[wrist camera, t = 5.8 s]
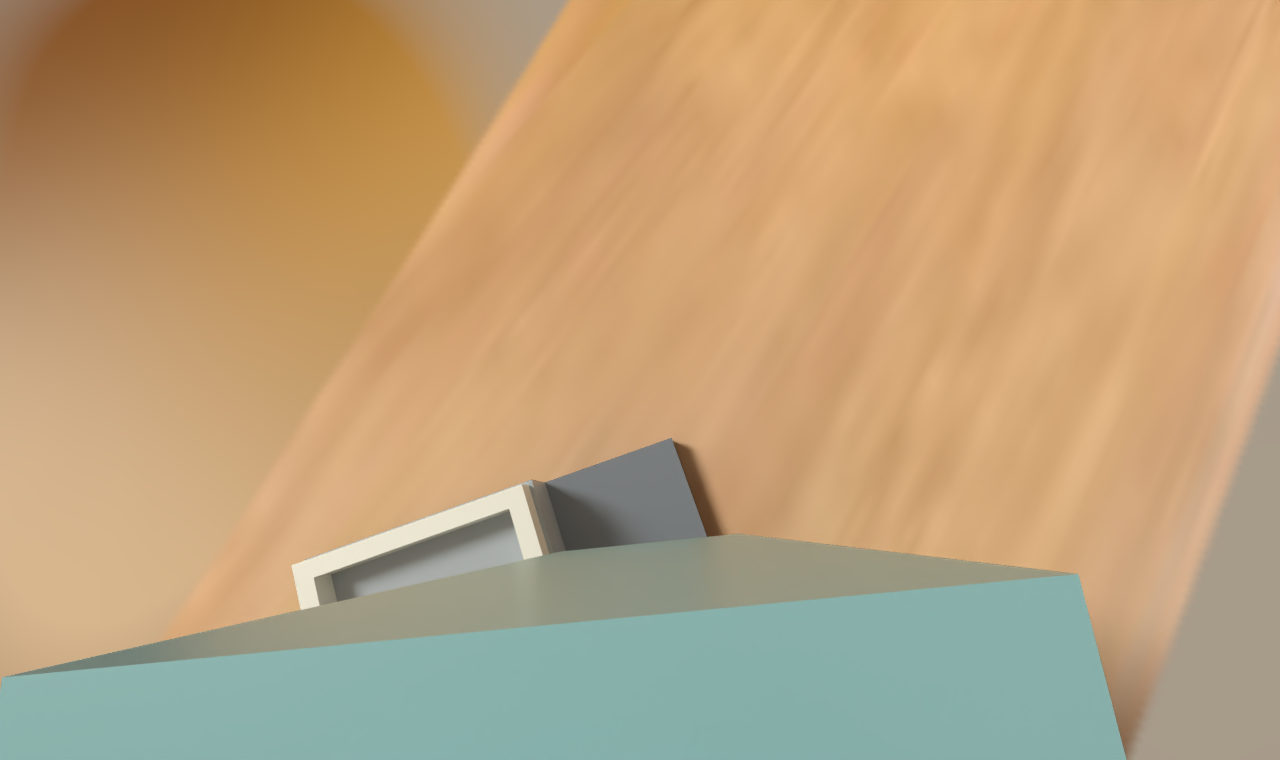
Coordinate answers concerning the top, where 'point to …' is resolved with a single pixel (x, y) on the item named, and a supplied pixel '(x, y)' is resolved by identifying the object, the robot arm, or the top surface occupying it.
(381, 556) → the grey board with socket
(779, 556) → the pillar
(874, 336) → the top surface
